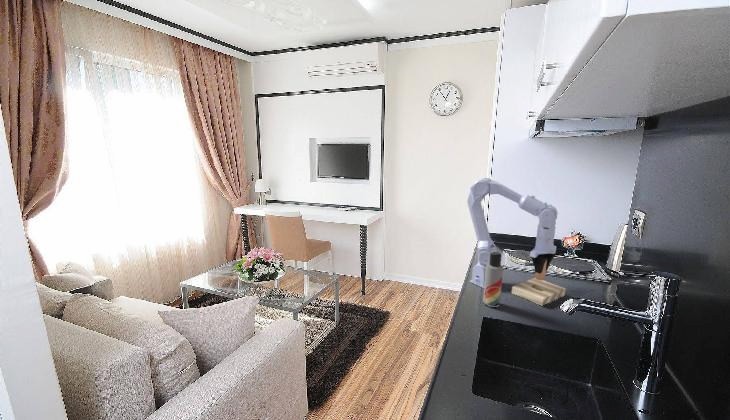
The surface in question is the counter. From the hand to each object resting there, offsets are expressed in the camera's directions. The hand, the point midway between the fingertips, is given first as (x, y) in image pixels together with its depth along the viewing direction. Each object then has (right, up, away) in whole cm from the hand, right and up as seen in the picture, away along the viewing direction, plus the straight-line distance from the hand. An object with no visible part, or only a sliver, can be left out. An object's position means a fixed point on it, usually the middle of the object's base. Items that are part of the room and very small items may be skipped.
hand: (540, 271), depth 120 cm
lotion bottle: (-21, -11, -5) cm, 25 cm away
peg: (0, -3, +1) cm, 3 cm away
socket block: (0, -9, +2) cm, 10 cm away
